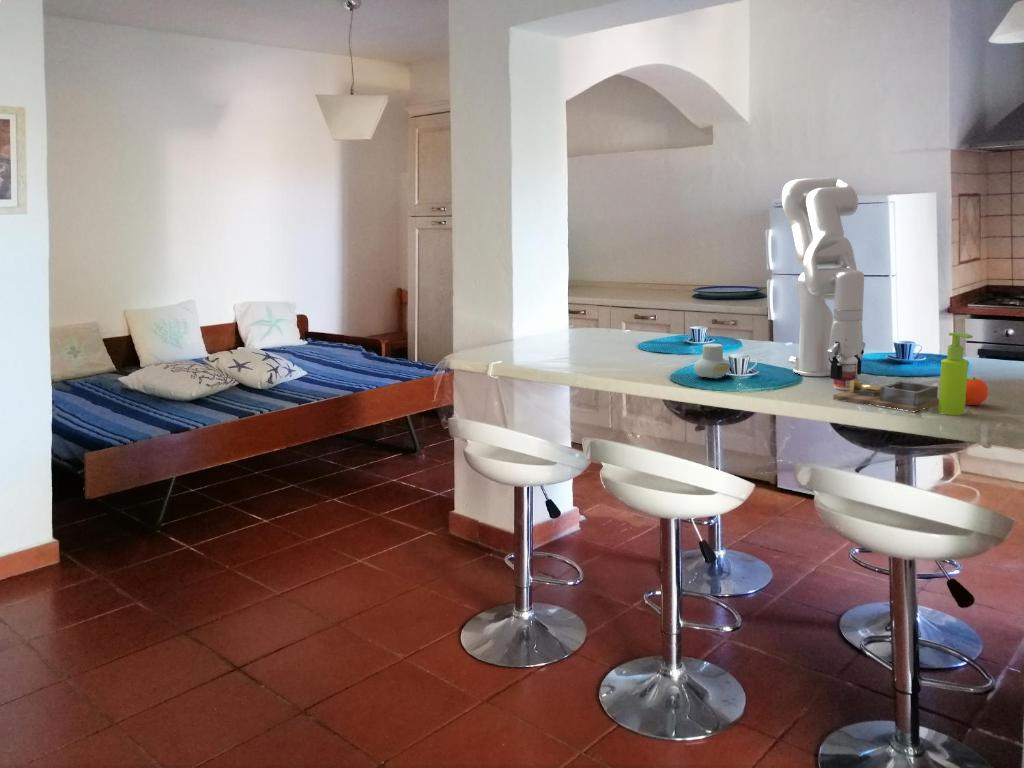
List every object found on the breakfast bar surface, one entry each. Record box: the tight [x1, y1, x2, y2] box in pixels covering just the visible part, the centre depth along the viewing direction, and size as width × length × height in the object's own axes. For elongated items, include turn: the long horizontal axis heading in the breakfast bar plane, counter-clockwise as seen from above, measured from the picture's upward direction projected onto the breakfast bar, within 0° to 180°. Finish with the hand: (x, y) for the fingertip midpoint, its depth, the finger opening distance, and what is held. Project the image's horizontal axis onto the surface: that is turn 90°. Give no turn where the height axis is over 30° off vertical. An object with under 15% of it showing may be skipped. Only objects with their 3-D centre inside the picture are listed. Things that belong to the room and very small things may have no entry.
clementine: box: [965, 377, 989, 406], centre depth 229 cm, size 8×7×7 cm
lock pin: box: [850, 378, 883, 394], centre depth 240 cm, size 9×3×3 cm, turn 39°
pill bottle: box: [833, 351, 858, 391], centre depth 252 cm, size 6×6×11 cm
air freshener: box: [693, 343, 731, 378], centre depth 273 cm, size 11×8×10 cm
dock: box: [832, 380, 939, 411], centre depth 236 cm, size 22×14×5 cm, turn 39°
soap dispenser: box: [937, 332, 974, 416], centre depth 220 cm, size 6×7×20 cm
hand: (845, 376), depth 252 cm, fingers open, 9 cm apart
